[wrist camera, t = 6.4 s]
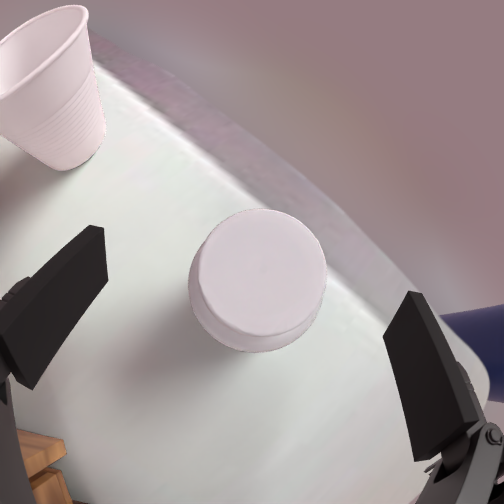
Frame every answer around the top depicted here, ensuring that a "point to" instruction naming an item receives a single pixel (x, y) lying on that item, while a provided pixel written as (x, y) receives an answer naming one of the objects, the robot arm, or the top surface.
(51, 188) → the top surface
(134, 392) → the top surface
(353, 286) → the top surface
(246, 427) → the top surface
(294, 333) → the pill bottle
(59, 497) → the drawer
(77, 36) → the cup
